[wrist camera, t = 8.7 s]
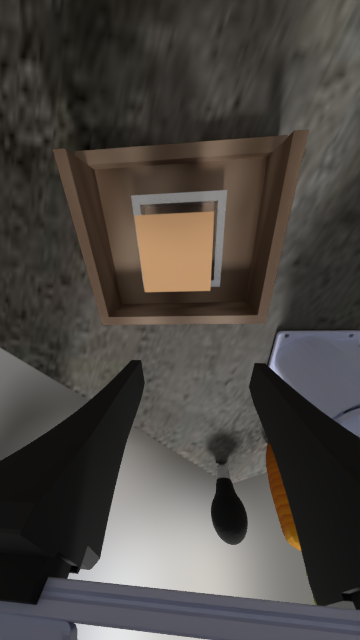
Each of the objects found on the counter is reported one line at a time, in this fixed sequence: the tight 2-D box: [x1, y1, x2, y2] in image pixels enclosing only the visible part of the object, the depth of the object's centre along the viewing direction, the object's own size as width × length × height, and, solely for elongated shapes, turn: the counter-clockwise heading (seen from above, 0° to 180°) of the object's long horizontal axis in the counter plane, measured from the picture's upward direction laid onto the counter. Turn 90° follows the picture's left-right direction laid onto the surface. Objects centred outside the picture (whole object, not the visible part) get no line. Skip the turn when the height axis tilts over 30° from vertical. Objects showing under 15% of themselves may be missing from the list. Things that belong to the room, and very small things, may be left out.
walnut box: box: [53, 130, 309, 325], centre depth 14 cm, size 15×13×4 cm
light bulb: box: [211, 463, 248, 545], centre depth 29 cm, size 6×6×10 cm
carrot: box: [266, 443, 317, 605], centre depth 23 cm, size 5×5×15 cm
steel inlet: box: [131, 190, 227, 287], centre depth 14 cm, size 7×7×2 cm
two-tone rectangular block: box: [134, 211, 214, 292], centre depth 12 cm, size 4×4×7 cm
